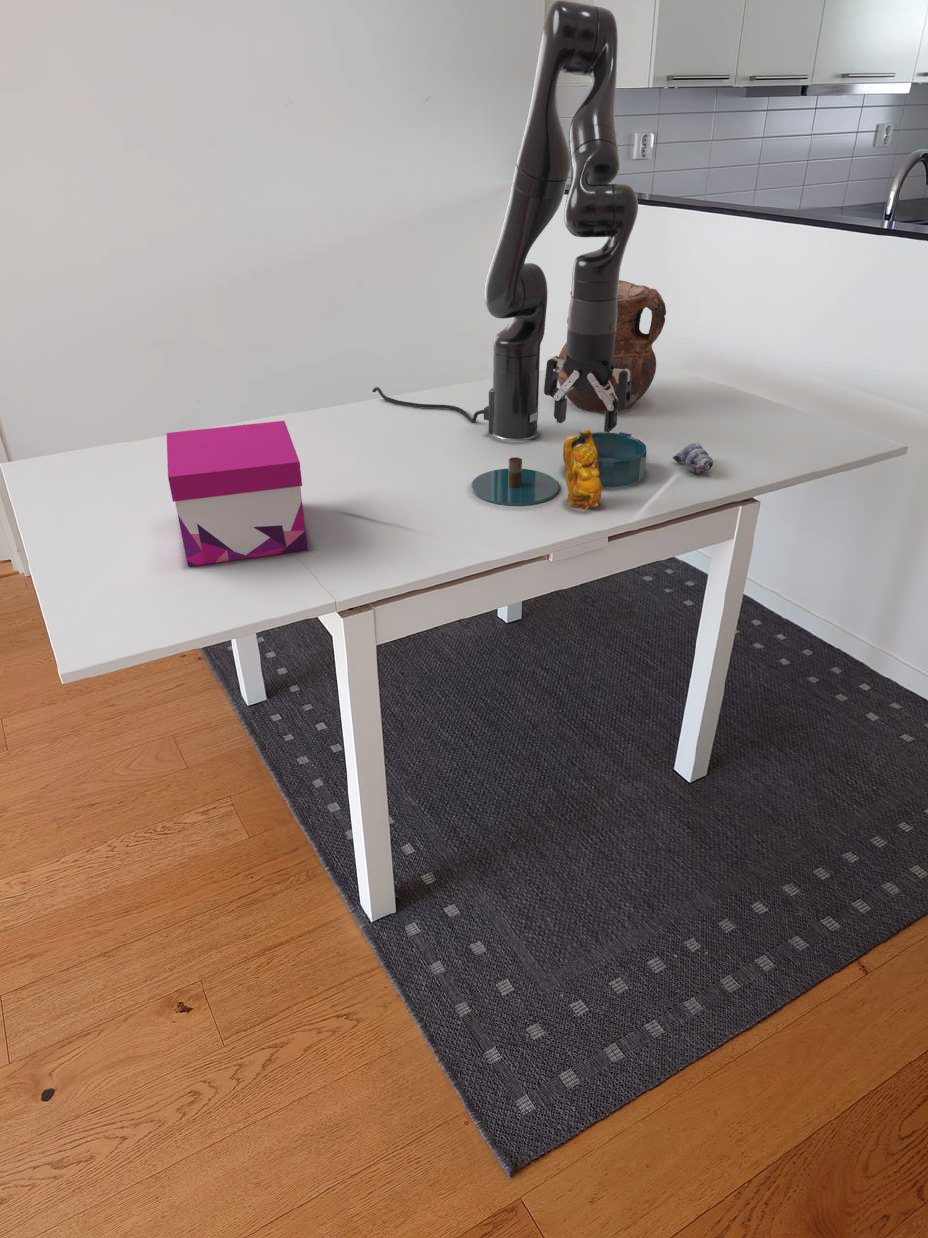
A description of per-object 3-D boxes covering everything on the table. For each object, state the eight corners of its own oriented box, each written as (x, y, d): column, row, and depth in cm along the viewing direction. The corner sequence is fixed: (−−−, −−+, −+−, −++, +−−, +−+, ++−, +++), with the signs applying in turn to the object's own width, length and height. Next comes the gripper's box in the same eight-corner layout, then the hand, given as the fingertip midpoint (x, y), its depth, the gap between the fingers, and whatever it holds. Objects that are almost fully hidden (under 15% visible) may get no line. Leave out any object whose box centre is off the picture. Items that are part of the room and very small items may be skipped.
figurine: (591, 516, 150) (596, 443, 144) (558, 506, 154) (562, 435, 147) (609, 503, 155) (616, 433, 148) (577, 494, 158) (582, 424, 151)
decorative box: (309, 550, 141) (299, 461, 133) (186, 568, 136) (168, 477, 128) (294, 502, 156) (284, 420, 148) (182, 516, 152) (166, 432, 144)
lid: (455, 497, 157) (454, 466, 154) (497, 467, 169) (497, 438, 166) (534, 516, 151) (535, 483, 147) (572, 483, 162) (574, 453, 159)
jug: (558, 418, 192) (565, 298, 178) (550, 388, 209) (555, 277, 196) (661, 417, 192) (675, 297, 178) (643, 387, 209) (655, 276, 196)
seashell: (676, 466, 172) (704, 487, 164) (664, 447, 169) (692, 468, 161) (698, 447, 171) (727, 467, 163) (686, 428, 168) (715, 448, 160)
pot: (545, 484, 162) (546, 456, 159) (589, 449, 176) (591, 423, 173) (620, 501, 155) (623, 472, 153) (659, 463, 170) (662, 436, 167)
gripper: (644, 326, 137) (633, 427, 146) (560, 315, 144) (555, 411, 152) (625, 338, 132) (615, 441, 141) (540, 325, 138) (535, 425, 147)
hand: (584, 426), depth 146 cm, fingers open, 8 cm apart
